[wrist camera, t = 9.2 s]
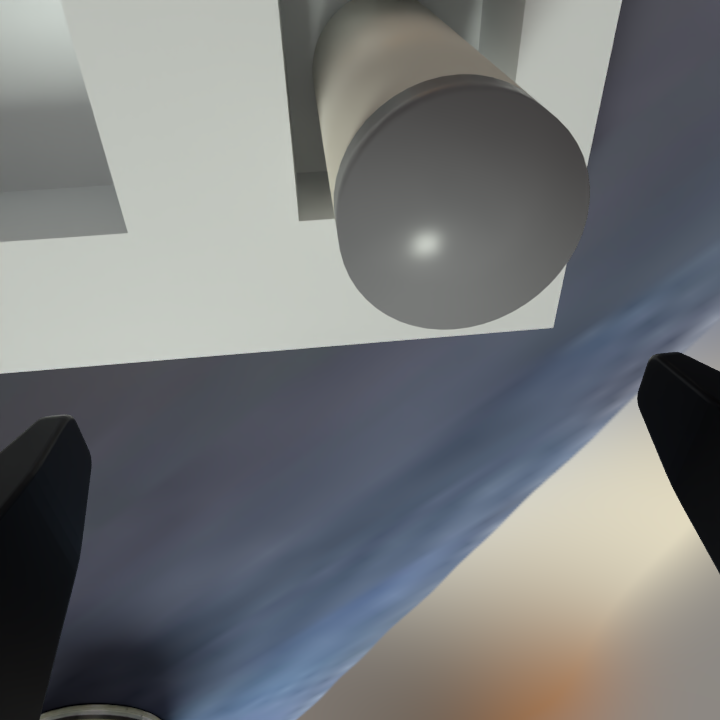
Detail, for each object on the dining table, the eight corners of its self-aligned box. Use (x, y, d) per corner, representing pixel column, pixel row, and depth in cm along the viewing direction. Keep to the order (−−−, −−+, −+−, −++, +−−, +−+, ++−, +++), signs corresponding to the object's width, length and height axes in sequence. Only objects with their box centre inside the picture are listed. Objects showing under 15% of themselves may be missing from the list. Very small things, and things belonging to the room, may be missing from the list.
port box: (-36, 301, 21) (-104, 388, 18) (-322, -255, 13) (-571, -314, 9) (510, 259, 23) (556, 333, 19) (588, -271, 14) (699, -329, 10)
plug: (317, 146, 18) (343, 338, 11) (306, -6, 16) (330, 100, 8) (445, 138, 19) (564, 320, 11) (455, -13, 16) (616, 84, 8)
